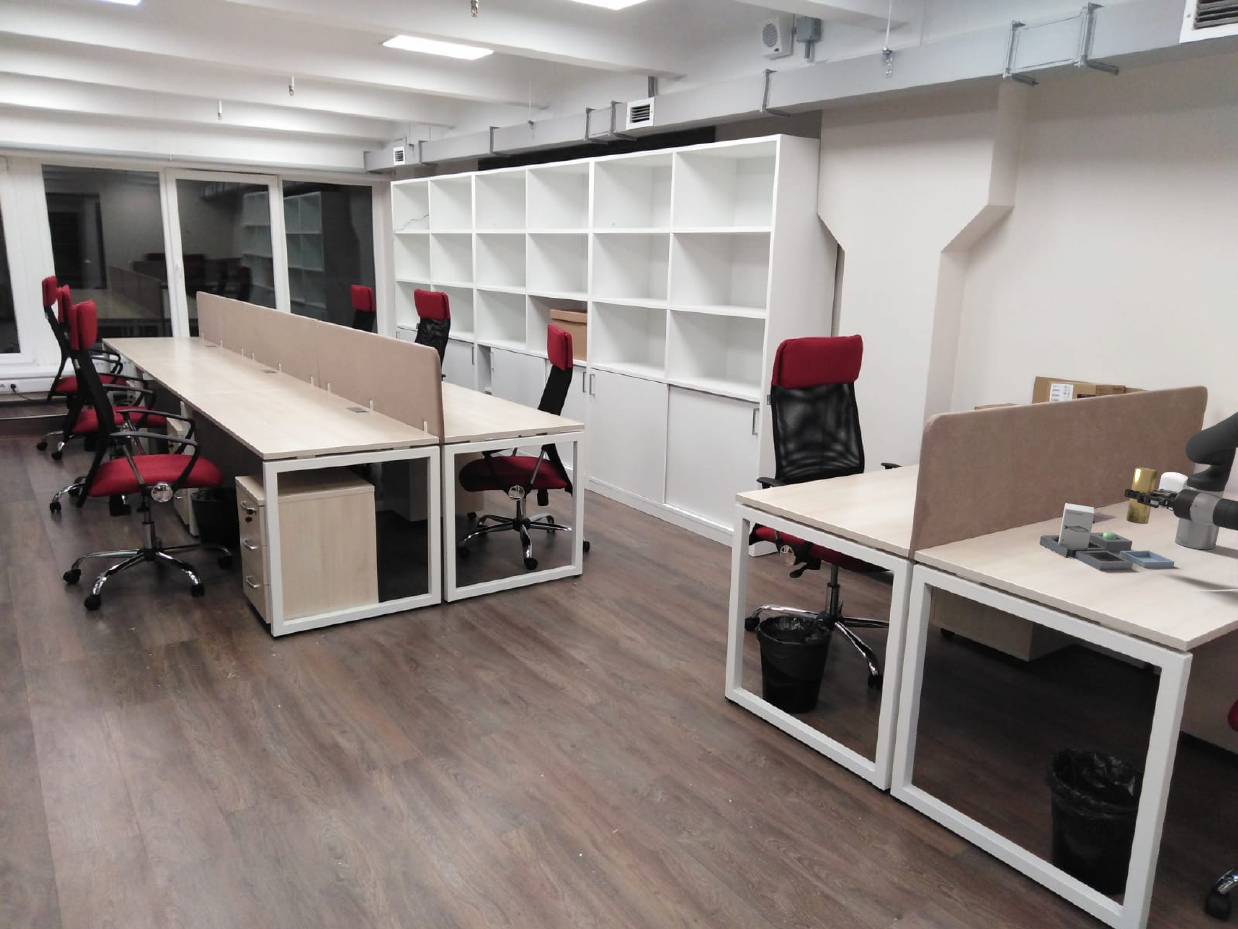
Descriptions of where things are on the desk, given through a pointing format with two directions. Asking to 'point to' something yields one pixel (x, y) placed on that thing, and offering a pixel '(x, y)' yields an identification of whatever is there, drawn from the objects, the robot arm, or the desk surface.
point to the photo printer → (1173, 482)
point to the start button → (1109, 535)
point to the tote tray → (1146, 559)
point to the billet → (1145, 483)
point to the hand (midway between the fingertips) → (1131, 491)
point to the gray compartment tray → (1087, 554)
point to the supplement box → (1076, 526)
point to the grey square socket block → (1112, 542)
